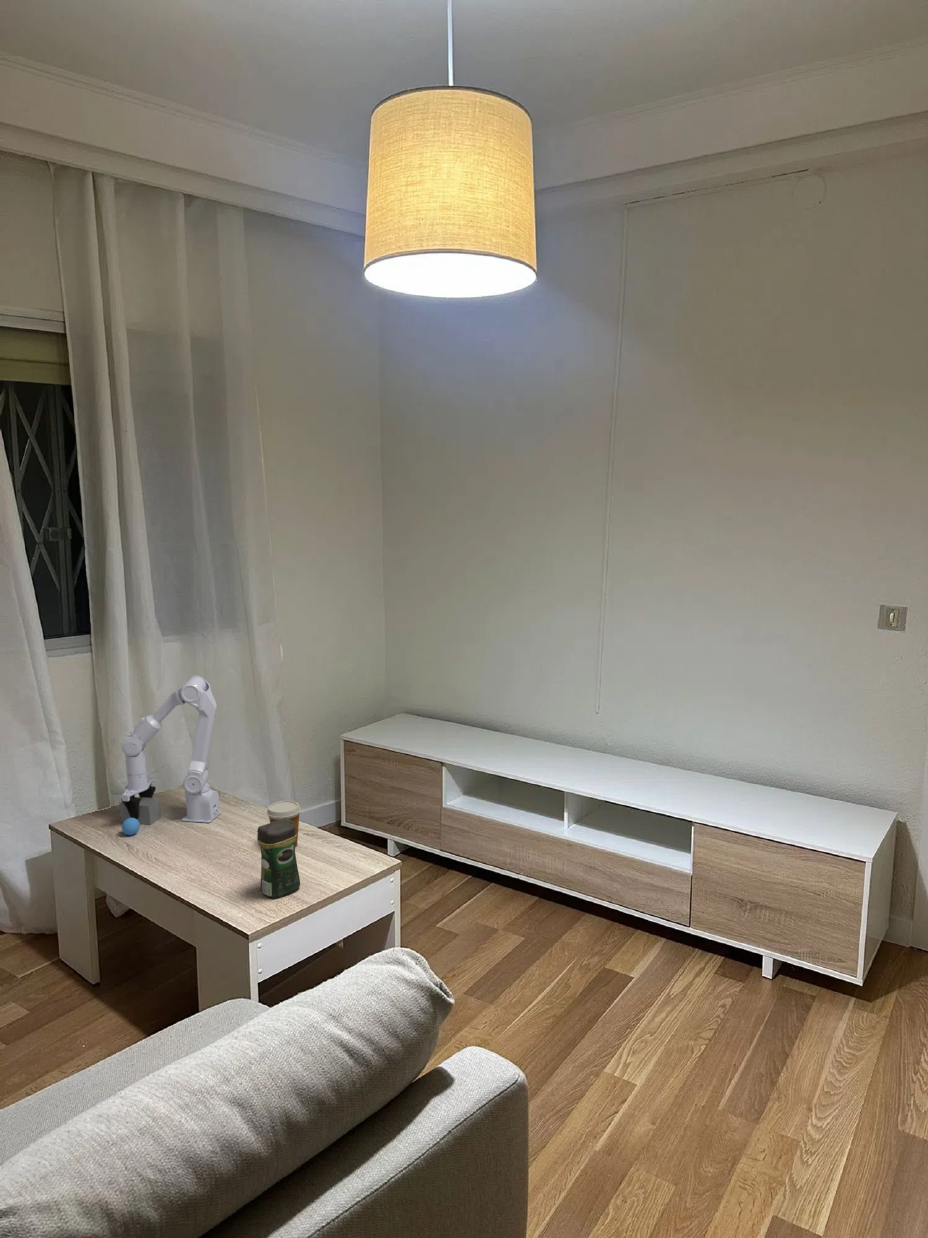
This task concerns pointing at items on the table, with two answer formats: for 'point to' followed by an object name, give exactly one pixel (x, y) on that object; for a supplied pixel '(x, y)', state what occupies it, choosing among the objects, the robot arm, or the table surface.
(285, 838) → the coffee jar
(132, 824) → the ball
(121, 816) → the grey rectangular box
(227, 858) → the table surface
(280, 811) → the disposable coffee cup
